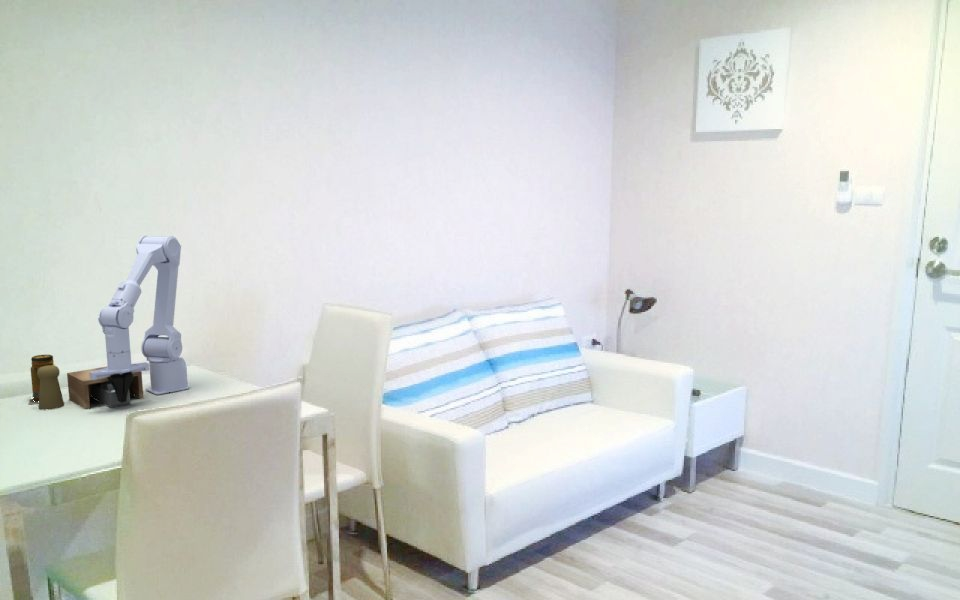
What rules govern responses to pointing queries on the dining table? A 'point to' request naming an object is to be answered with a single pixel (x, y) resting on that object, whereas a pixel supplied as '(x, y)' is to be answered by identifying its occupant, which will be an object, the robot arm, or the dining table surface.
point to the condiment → (36, 364)
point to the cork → (49, 388)
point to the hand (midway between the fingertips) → (122, 401)
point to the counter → (82, 383)
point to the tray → (107, 394)
